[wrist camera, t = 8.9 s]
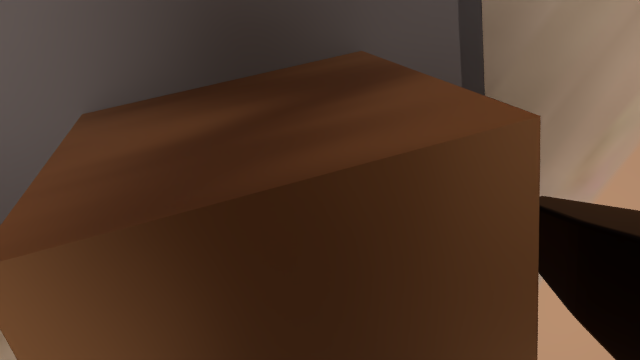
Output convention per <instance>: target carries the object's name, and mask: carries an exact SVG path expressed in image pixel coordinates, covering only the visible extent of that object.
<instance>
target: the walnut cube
mask: <svg viewBox="0 0 640 360" xmlns="http://www.w3.org/2000/svg"><path fill="white" fill-rule="evenodd" d="M539 190H540V116H539V115H536V114H533V113H530V112H528V111H525V110H522V109H520V108H517V107H514V106H511V105H509V104H506V103H503V102H500V101H498V100H495V99H492V98H490V97H487V96H484V95H481V94H479V93H476V92H473V91H470V90H468V89H465V88H462V87H459V86H457V85H454V84H451V83H449V82H446V81H443V80H440V79H438V78H435V77H432V76H429V75H427V74H424V73H421V72H418V71H416V70H413V69H410V68H408V67H405V66H402V65H399V64H397V63H394V62H391V61H388V60H386V59H383V58H380V57H377V56H375V55H372V54H369V53H367V52H364V51H358V52H354V53H350V54H345V55H341V56H336V57H332V58H328V59H323V60H319V61H314V62H310V63H306V64H301V65H297V66H292V67H288V68H284V69H279V70H275V71H270V72H266V73H262V74H257V75H253V76H248V77H244V78H239V79H235V80H231V81H226V82H222V83H217V84H213V85H209V86H204V87H200V88H195V89H191V90H187V91H182V92H178V93H173V94H169V95H165V96H160V97H156V98H151V99H147V100H143V101H138V102H134V103H129V104H125V105H120V106H116V107H112V108H107V109H103V110H98V111H94V112H90V113H85V114H82V115H81V116H80V118H79V119H78V120H77V122H76V123H75V124H74V126H73V127H72V129H71V130H70V131H69V133H68V134H67V135H66V137H65V138H64V139H63V141H62V142H61V144H60V145H59V146H58V148H57V149H56V150H55V152H54V153H53V154H52V156H51V157H50V159H49V160H48V161H47V163H46V164H45V165H44V167H43V168H42V169H41V171H40V172H39V174H38V175H37V176H36V178H35V179H34V180H33V182H32V183H31V184H30V186H29V187H28V188H27V190H26V191H25V193H24V194H23V195H22V197H21V198H20V199H19V201H18V202H17V203H16V205H15V206H14V208H13V209H12V210H11V212H10V213H9V214H8V216H7V217H6V218H5V220H4V221H3V223H2V224H1V225H0V329H1V331H2V333H3V335H4V337H5V338H6V340H7V342H8V344H9V346H10V347H11V349H12V351H13V353H14V354H15V356H16V358H17V360H537V341H538V337H537V336H538V265H539Z"/></svg>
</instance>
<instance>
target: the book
mask: <svg viewBox="0 0 640 360" xmlns="http://www.w3.org/2000/svg"><path fill="white" fill-rule="evenodd" d="M358 51H364V52H367V53H369V54H372V55H375V56H377V57H380V58H383V59H386V60H388V61H391V62H394V63H397V64H399V65H402V66H405V67H408V68H410V69H413V70H416V71H418V72H421V73H424V74H427V75H429V76H432V77H435V78H438V79H440V80H443V81H446V82H449V83H451V84H454V85H457V86H459V87H462V88H465V89H468V90H470V91H473V92H476V93H479V94H481V95H484V96H485V91H484V61H483V31H482V1H481V0H0V225H1V224H2V223H3V221H4V220H5V218H6V217H7V216H8V214H9V213H10V212H11V210H12V209H13V208H14V206H15V205H16V203H17V202H18V201H19V199H20V198H21V197H22V195H23V194H24V193H25V191H26V190H27V188H28V187H29V186H30V184H31V183H32V182H33V180H34V179H35V178H36V176H37V175H38V174H39V172H40V171H41V169H42V168H43V167H44V165H45V164H46V163H47V161H48V160H49V159H50V157H51V156H52V154H53V153H54V152H55V150H56V149H57V148H58V146H59V145H60V144H61V142H62V141H63V139H64V138H65V137H66V135H67V134H68V133H69V131H70V130H71V129H72V127H73V126H74V124H75V123H76V122H77V120H78V119H79V118H80V116H81V115H82V114H85V113H90V112H94V111H98V110H103V109H107V108H112V107H116V106H120V105H125V104H129V103H134V102H138V101H143V100H147V99H151V98H156V97H160V96H165V95H169V94H173V93H178V92H182V91H187V90H191V89H195V88H200V87H204V86H209V85H213V84H217V83H222V82H226V81H231V80H235V79H239V78H244V77H248V76H253V75H257V74H262V73H266V72H270V71H275V70H279V69H284V68H288V67H292V66H297V65H301V64H306V63H310V62H314V61H319V60H323V59H328V58H332V57H336V56H341V55H345V54H350V53H354V52H358Z"/></svg>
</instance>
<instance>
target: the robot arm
mask: <svg viewBox="0 0 640 360" xmlns="http://www.w3.org/2000/svg"><path fill="white" fill-rule="evenodd" d="M538 272H539V274H540V275H541V276H542V277H543V279H544V280H545V281H546V283H547V284H548V285H549V286H550V287H551V289H552V290H553V291H554V292H555V294H556V295H557V296H558V298H559V299H560V300H561V301H562V302H563V304H564V305H565V306H566V307H567V309H568V310H569V311H570V312H571V313H572V315H573V316H574V317H575V318H576V319H577V320H578V321H579V322H580V323H581V324H582V326H583V327H584V328H585V329H586V330H587V331H588V332H589V333H590V334H591V335H592V336H593V337H594V338H595V339H596V340H597V341H598V342H599V343H600V344H601V345H602V346H603V347H604V348H605V349H606V350H607V351H608V352H609V353H610V354H611V355H612V356H613V358H615V360H640V211H638V210H631V209H625V208H618V207H612V206H605V205H598V204H592V203H586V202H579V201H573V200H566V199H560V198H553V197H547V196H540V197H539V265H538Z"/></svg>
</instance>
